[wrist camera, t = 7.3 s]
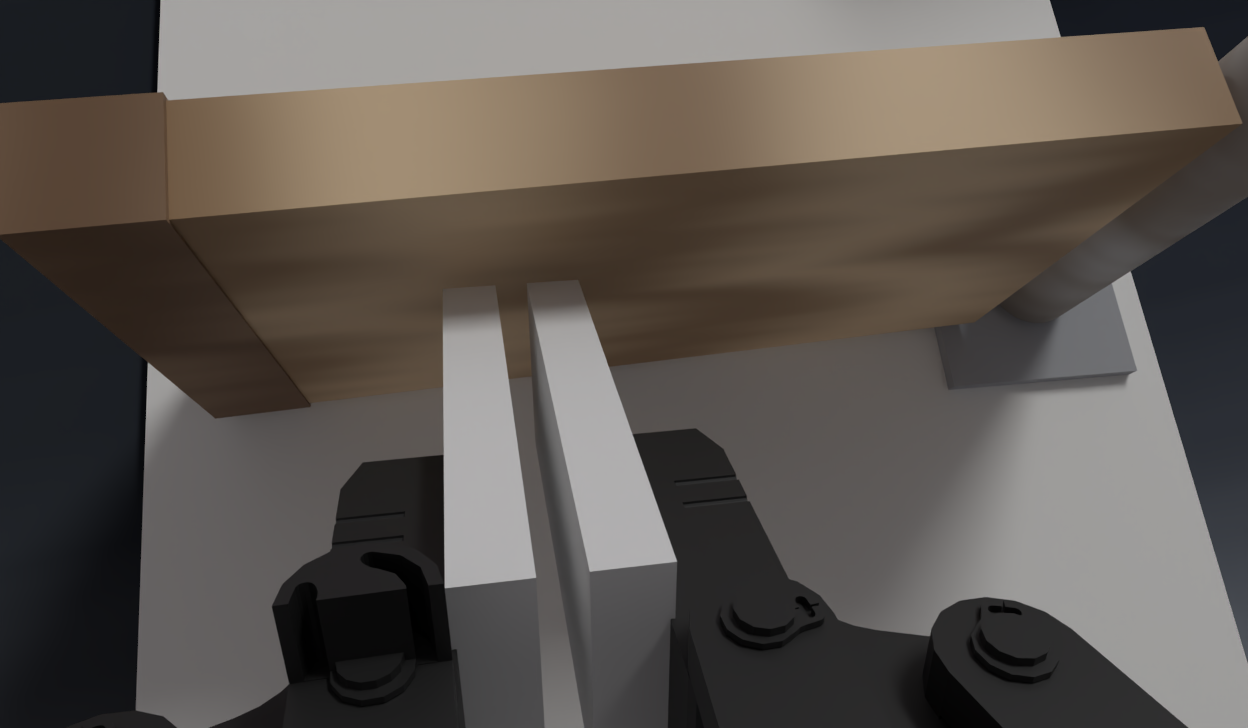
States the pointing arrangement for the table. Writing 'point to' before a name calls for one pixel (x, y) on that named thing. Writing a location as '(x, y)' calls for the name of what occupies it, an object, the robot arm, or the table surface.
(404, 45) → the base
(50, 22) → the table surface
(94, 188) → the gate
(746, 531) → the robot arm
